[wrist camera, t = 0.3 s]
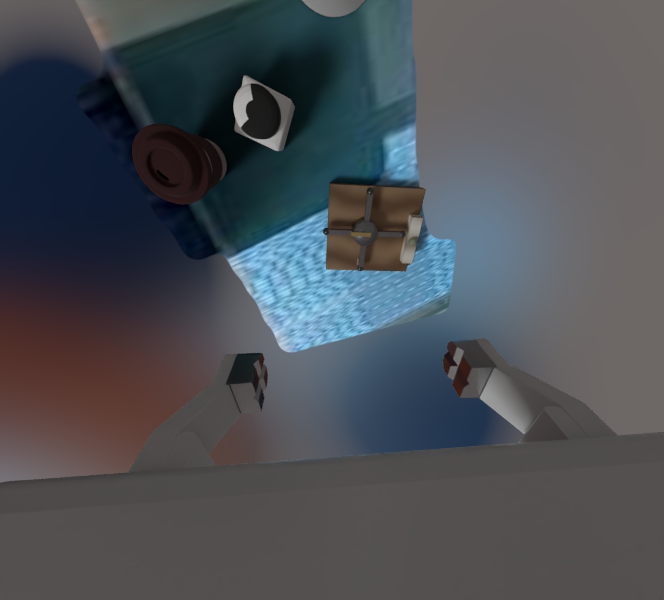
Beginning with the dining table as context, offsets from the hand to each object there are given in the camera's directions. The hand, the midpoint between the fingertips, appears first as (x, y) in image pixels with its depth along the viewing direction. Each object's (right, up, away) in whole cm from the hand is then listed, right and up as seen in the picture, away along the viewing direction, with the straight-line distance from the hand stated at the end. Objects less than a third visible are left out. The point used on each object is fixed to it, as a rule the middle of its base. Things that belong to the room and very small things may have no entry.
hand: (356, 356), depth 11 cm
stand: (+7, +18, +43) cm, 47 cm away
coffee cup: (-24, +28, +35) cm, 51 cm away
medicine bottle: (-12, +34, +32) cm, 48 cm away
